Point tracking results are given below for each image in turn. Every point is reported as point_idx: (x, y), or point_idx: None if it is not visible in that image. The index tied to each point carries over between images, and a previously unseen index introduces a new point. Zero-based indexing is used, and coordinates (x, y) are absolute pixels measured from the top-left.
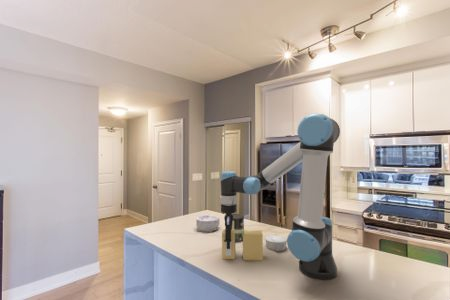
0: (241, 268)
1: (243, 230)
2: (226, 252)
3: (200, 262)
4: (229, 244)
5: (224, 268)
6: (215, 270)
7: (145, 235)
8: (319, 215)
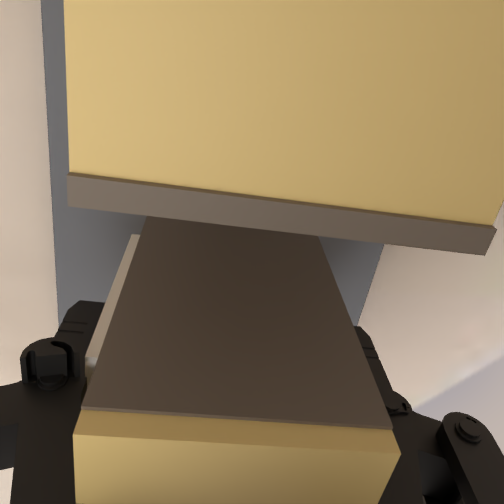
0: None
1: (120, 199)
2: None
3: None
4: (385, 378)
5: (425, 290)
6: (436, 352)
7: None
8: None
